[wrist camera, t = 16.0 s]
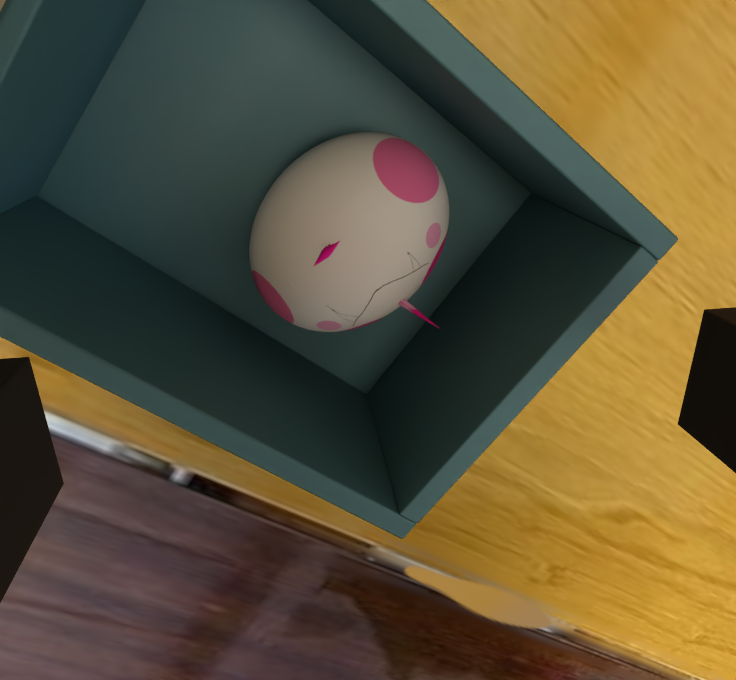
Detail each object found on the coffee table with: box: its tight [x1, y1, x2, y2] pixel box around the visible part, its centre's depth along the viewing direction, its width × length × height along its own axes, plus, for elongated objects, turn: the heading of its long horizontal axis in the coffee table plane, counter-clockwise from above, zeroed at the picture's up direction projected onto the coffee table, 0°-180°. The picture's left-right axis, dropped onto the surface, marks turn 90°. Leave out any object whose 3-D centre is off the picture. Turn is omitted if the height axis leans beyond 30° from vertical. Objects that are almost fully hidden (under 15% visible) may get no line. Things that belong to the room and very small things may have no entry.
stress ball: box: [249, 132, 449, 332], centre depth 20 cm, size 8×8×7 cm
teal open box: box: [0, 0, 678, 539], centre depth 19 cm, size 17×13×9 cm
